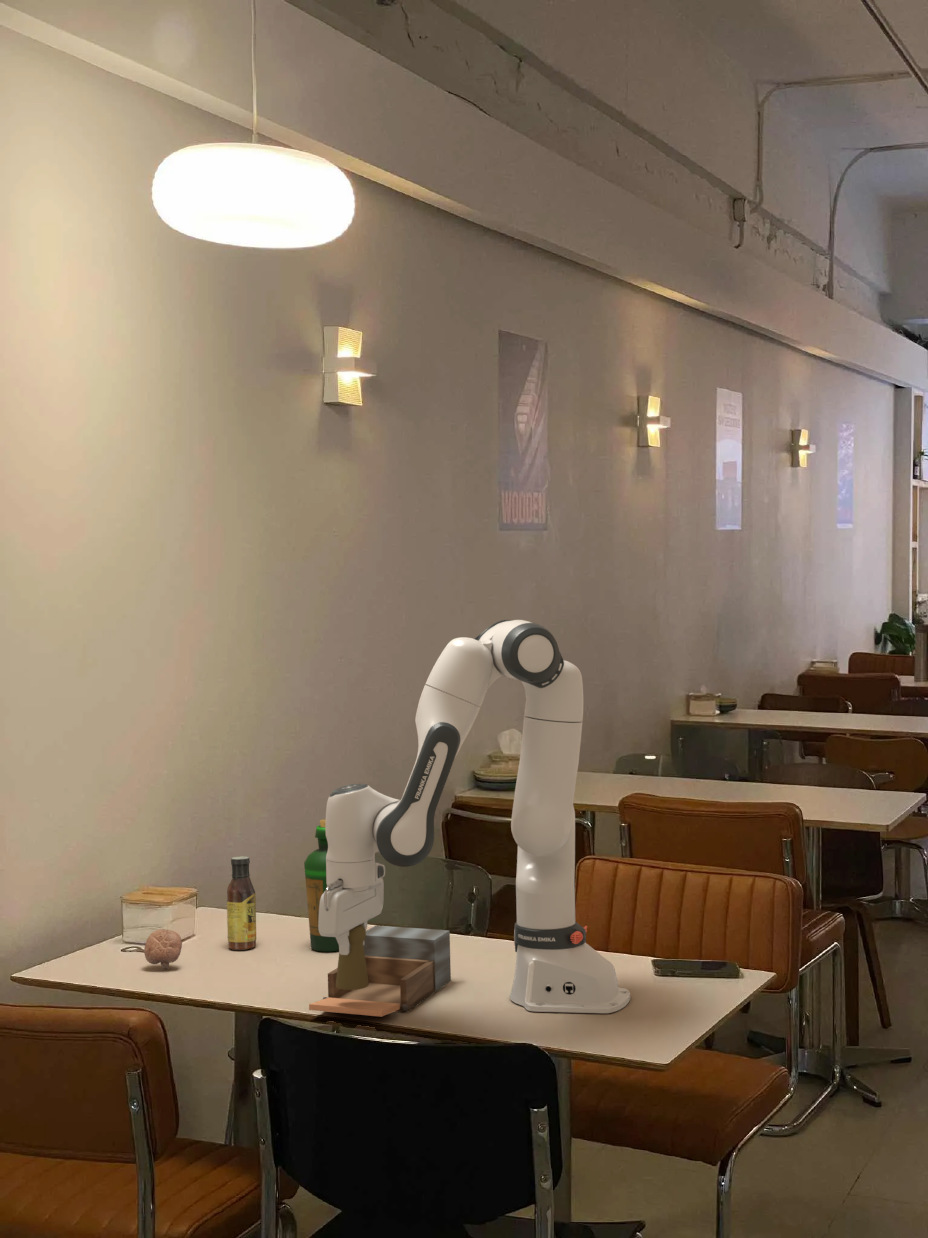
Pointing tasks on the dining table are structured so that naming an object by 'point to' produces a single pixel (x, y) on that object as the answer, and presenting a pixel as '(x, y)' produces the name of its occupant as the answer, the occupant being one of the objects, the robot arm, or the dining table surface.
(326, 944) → the bottle
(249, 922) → the sauce bottle
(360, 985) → the cork
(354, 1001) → the wooden board
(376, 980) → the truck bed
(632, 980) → the dining table surface
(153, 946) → the brown rounded lump
